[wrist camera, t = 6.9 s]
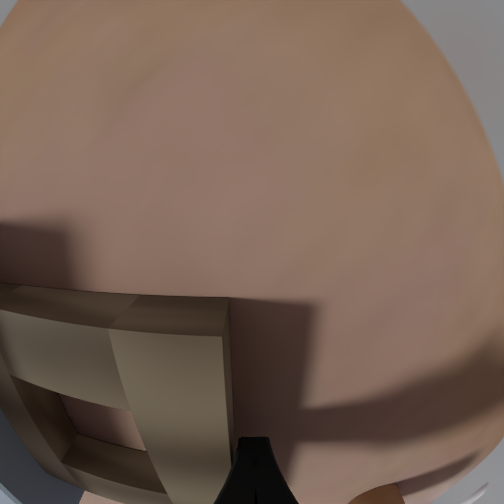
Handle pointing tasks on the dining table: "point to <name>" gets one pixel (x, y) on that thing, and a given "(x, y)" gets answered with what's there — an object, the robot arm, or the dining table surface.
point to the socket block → (122, 388)
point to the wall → (29, 474)
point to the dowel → (380, 496)
